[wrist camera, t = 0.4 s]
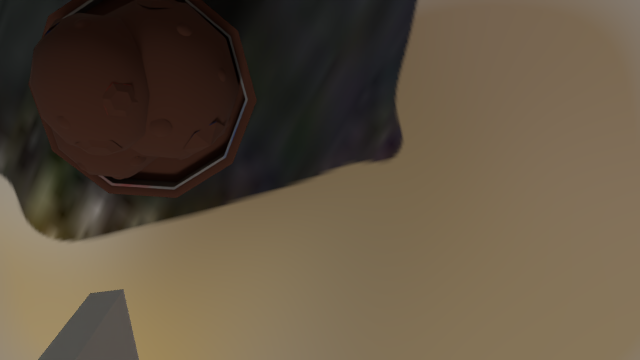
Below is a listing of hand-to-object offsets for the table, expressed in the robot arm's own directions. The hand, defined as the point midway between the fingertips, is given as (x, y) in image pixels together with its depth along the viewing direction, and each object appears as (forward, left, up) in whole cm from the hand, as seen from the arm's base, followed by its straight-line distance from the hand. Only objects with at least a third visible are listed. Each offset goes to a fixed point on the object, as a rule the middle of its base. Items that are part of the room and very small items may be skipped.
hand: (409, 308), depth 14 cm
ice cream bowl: (-4, -10, -27) cm, 29 cm away
